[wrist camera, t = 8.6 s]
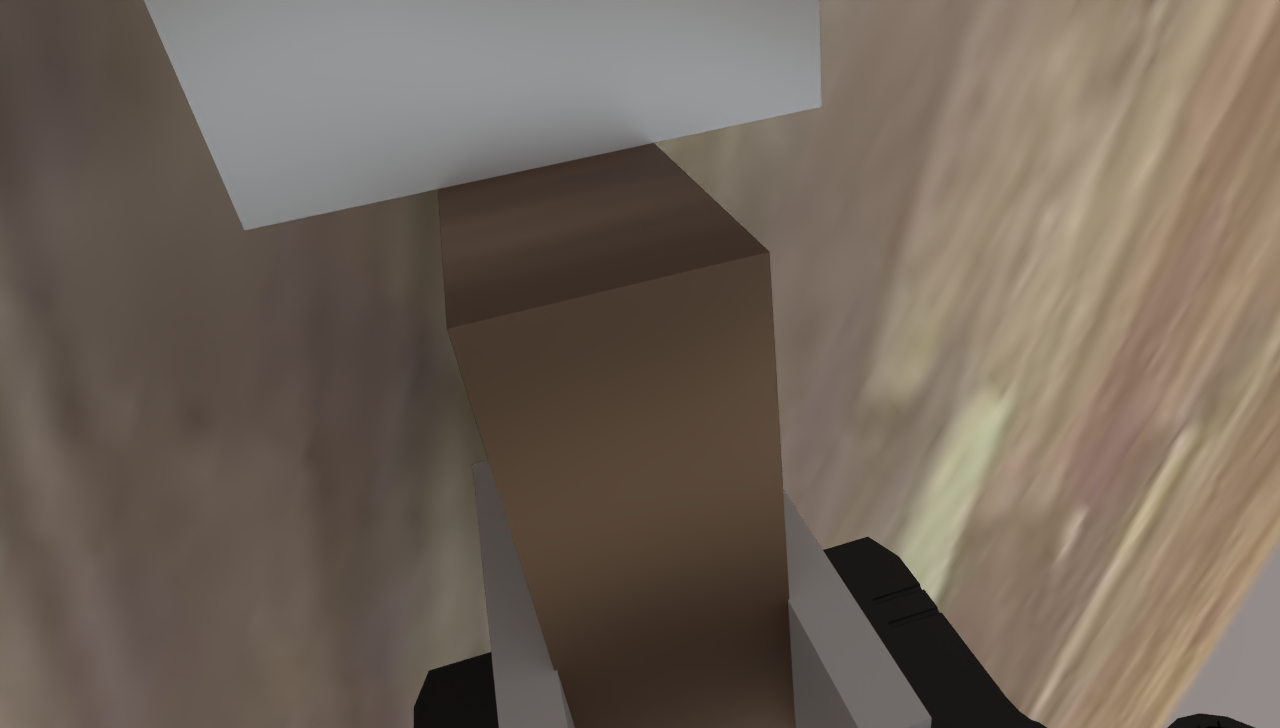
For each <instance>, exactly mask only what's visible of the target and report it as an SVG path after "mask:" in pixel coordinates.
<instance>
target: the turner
mask: <svg viewBox="0 0 1280 728" xmlns="http://www.w3.org/2000/svg"><path fill="white" fill-rule="evenodd" d="M144 2H145V4H146V6H147V9H148V11H149V13H150V16H151V18H152V20H153V22H154V25H155V27H156V29H157V32H158V34H159V36H160V38H161V41H162V43H163V45H164V48H165V50H166V52H167V54H168V57H169V59H170V61H171V64H172V66H173V68H174V70H175V73H176V75H177V77H178V80H179V82H180V84H181V86H182V89H183V91H184V93H185V96H186V98H187V100H188V102H189V105H190V107H191V109H192V112H193V114H194V116H195V118H196V121H197V123H198V125H199V128H200V130H201V132H202V134H203V137H204V139H205V141H206V144H207V146H208V148H209V150H210V153H211V155H212V157H213V160H214V162H215V164H216V166H217V169H218V171H219V173H220V176H221V178H222V180H223V182H224V185H225V187H226V189H227V192H228V194H229V196H230V198H231V201H232V203H233V205H234V208H235V210H236V212H237V214H238V217H239V219H240V221H241V224H242V226H243V228H244V230H249V229H254V228H259V227H263V226H268V225H273V224H277V223H282V222H287V221H291V220H296V219H301V218H305V217H310V216H315V215H319V214H324V213H329V212H333V211H338V210H343V209H347V208H352V207H357V206H361V205H366V204H371V203H375V202H380V201H385V200H389V199H394V198H399V197H403V196H408V195H413V194H417V193H422V192H427V191H431V190H436V189H438V200H439V215H440V230H441V245H442V261H443V276H444V291H445V306H446V321H447V330H448V334H449V337H450V340H451V343H452V346H453V350H454V353H455V356H456V359H457V362H458V366H459V369H460V372H461V375H462V378H463V381H464V385H465V388H466V391H467V394H468V397H469V401H470V404H471V407H472V410H473V413H474V417H475V420H476V423H477V426H478V429H479V433H480V436H481V439H482V442H483V445H484V449H485V452H486V455H487V458H488V461H489V465H490V468H491V471H492V474H493V477H494V480H495V484H496V487H497V490H498V493H499V496H500V500H501V503H502V506H503V509H504V512H505V516H506V519H507V522H508V525H509V528H510V532H511V535H512V538H513V541H514V544H515V548H516V551H517V554H518V557H519V560H520V564H521V567H522V570H523V573H524V576H525V580H526V583H527V586H528V589H529V592H530V595H531V599H532V602H533V605H534V608H535V611H536V615H537V618H538V621H539V624H540V627H541V631H542V634H543V637H544V640H545V643H546V647H547V650H548V653H549V656H550V659H551V663H552V666H553V669H554V671H556V670H557V672H558V675H559V678H560V681H561V684H562V688H563V691H564V694H565V697H566V701H567V704H568V707H569V710H570V713H571V717H572V720H573V723H574V726H575V728H796V724H795V708H794V691H793V675H792V658H791V641H790V625H789V608H788V599H789V581H788V564H787V547H786V530H785V513H784V496H783V478H782V461H781V444H780V427H779V410H778V393H777V375H776V358H775V341H774V324H773V307H772V289H771V272H770V255H769V251H768V250H767V249H766V248H765V247H764V246H763V245H761V244H760V243H759V242H758V241H757V240H756V239H755V238H754V237H753V236H752V235H751V234H750V233H749V232H748V231H747V230H746V229H745V228H743V227H742V226H741V225H740V224H739V223H738V222H737V221H736V220H735V219H734V218H733V217H732V216H731V215H730V214H729V213H728V212H726V211H725V210H724V209H723V208H722V207H721V206H720V205H719V204H718V203H717V202H716V201H715V200H714V199H713V198H712V197H711V196H709V195H708V194H707V193H706V192H705V191H704V190H703V189H702V188H701V187H700V186H699V185H698V184H697V183H696V182H695V181H694V180H692V179H691V178H690V177H689V176H688V175H687V174H686V173H685V172H684V171H683V170H682V169H681V168H680V167H679V166H678V165H677V164H675V163H674V162H673V161H672V160H671V159H670V158H669V157H668V156H667V155H666V154H665V153H664V152H663V151H662V150H661V149H660V148H658V147H657V146H656V145H655V144H654V143H655V142H660V141H665V140H669V139H674V138H679V137H684V136H688V135H693V134H698V133H702V132H707V131H712V130H716V129H721V128H726V127H730V126H735V125H740V124H744V123H749V122H754V121H758V120H763V119H768V118H772V117H777V116H782V115H786V114H791V113H796V112H800V111H805V110H810V109H814V108H819V107H821V59H820V4H819V0H144Z"/></svg>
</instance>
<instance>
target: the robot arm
mask: <svg viewBox="0 0 1280 728" xmlns="http://www.w3.org/2000/svg"><path fill="white" fill-rule="evenodd" d="M472 465H473V475H474V485H475V495H476V505H477V515H478V525H479V535H480V545H481V555H482V565H483V575H484V584H485V594H486V604H487V614H488V624H489V634H490V644H491V652H490V653H486V654H483V655H480V656H476V657H473V658H470V659H466V660H463V661H460V662H456V663H453V664H450V665H446V666H443V667H440V668H436V669H433V670H430V671H429V672H428V674H427V677H426V679H425V682H424V684H423V686H422V689H421V691H420V694H419V696H418V699H417V701H416V703H415V706H414V728H575V726H574V723H573V720H572V717H571V713H570V710H569V707H568V704H567V701H566V697H565V694H564V691H563V688H562V684H561V681H560V678H559V675H558V672H557V670H556V671H554V669H553V666H552V663H551V659H550V656H549V653H548V650H547V647H546V643H545V640H544V637H543V634H542V631H541V627H540V624H539V621H538V618H537V615H536V611H535V608H534V605H533V602H532V599H531V595H530V592H529V589H528V586H527V583H526V580H525V576H524V573H523V570H522V567H521V564H520V560H519V557H518V554H517V551H516V548H515V544H514V541H513V538H512V535H511V532H510V528H509V525H508V522H507V519H506V516H505V512H504V509H503V506H502V503H501V500H500V496H499V493H498V490H497V487H496V484H495V480H494V477H493V474H492V471H491V468H490V465H489V461H488V460H486V461H482V462H479V463H475V464H472ZM783 496H784V513H785V530H786V547H787V564H788V581H789V599H788V608H789V625H790V641H791V658H792V675H793V691H794V708H795V724H796V728H1047V727H1045V726H1044V725H1042V724H1040V723H1039V722H1036V721H1033V720H1031V719H1029V718H1028V717H1026V716H1025V715H1024V714H1022V713H1021V712H1020V711H1019V710H1018V709H1017V708H1016V707H1015V706H1014V705H1013V704H1012V703H1011V702H1010V701H1009V700H1008V699H1007V698H1006V696H1005V695H1004V694H1003V692H1002V691H1001V690H1000V688H999V687H998V686H997V685H996V683H995V682H994V681H993V679H992V678H991V677H990V675H989V674H988V673H987V671H986V670H985V669H984V667H983V666H982V665H981V664H980V662H979V661H978V660H977V658H976V657H975V656H974V654H973V653H972V652H971V650H970V649H969V648H968V647H967V645H966V644H965V643H964V641H963V640H962V639H961V637H960V636H959V635H958V633H957V632H956V631H955V629H954V628H953V627H952V626H951V624H950V623H949V622H948V620H947V619H946V618H945V616H944V615H943V614H942V613H939V611H938V609H937V606H936V605H935V603H934V602H933V601H932V599H931V598H930V597H929V595H928V594H927V593H926V591H925V590H922V589H921V587H920V584H919V582H918V581H917V580H916V578H915V577H914V576H913V574H912V573H911V572H910V571H909V569H908V568H907V567H906V565H905V564H904V563H903V561H902V560H901V559H900V557H899V556H897V555H896V554H894V553H892V552H891V551H889V550H888V549H886V548H885V547H883V546H882V545H880V544H879V543H877V542H875V541H874V540H872V539H871V538H869V537H865V538H862V539H859V540H855V541H852V542H849V543H845V544H842V545H839V546H835V547H832V548H829V549H825V550H822V548H821V547H820V545H819V544H818V542H817V540H816V539H815V537H814V536H813V534H812V533H811V531H810V530H809V528H808V527H807V525H806V524H805V522H804V520H803V519H802V517H801V516H800V514H799V513H798V511H797V510H796V508H795V507H794V505H793V503H792V502H791V500H790V499H789V497H788V496H787V494H786V493H785V491H784V490H783ZM1168 728H1254V727H1252V726H1249V725H1247V724H1244V723H1242V722H1239V721H1236V720H1234V719H1231V718H1229V717H1225V716H1216V715H1208V714H1195V715H1191V716H1187V717H1182V718H1178V719H1177V720H1176V721H1174V722H1173V723H1172V724H1171V725H1170V726H1169V727H1168Z"/></svg>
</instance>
